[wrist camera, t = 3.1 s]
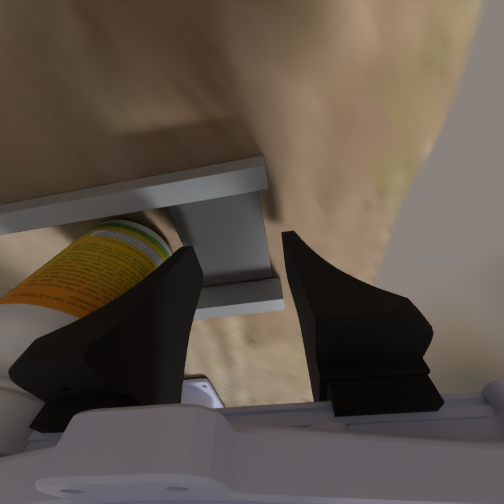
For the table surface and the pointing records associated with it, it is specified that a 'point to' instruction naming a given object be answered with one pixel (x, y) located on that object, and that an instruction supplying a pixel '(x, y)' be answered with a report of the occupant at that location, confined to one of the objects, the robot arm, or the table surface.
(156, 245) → the supplement bottle
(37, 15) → the table surface
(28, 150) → the table surface
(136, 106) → the table surface
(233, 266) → the channel
